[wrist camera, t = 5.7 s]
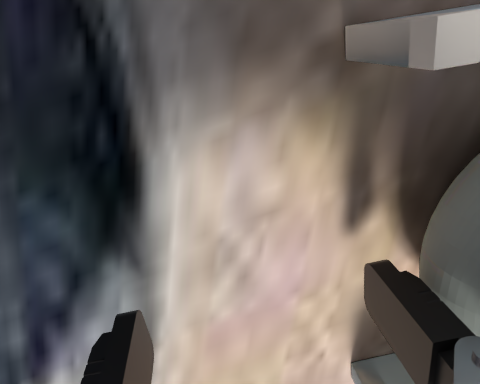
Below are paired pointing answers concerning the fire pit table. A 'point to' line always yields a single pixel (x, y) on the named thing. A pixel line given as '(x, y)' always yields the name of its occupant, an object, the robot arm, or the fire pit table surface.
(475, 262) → the air freshener
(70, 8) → the fire pit table surface
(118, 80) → the fire pit table surface
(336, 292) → the fire pit table surface
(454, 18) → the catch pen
